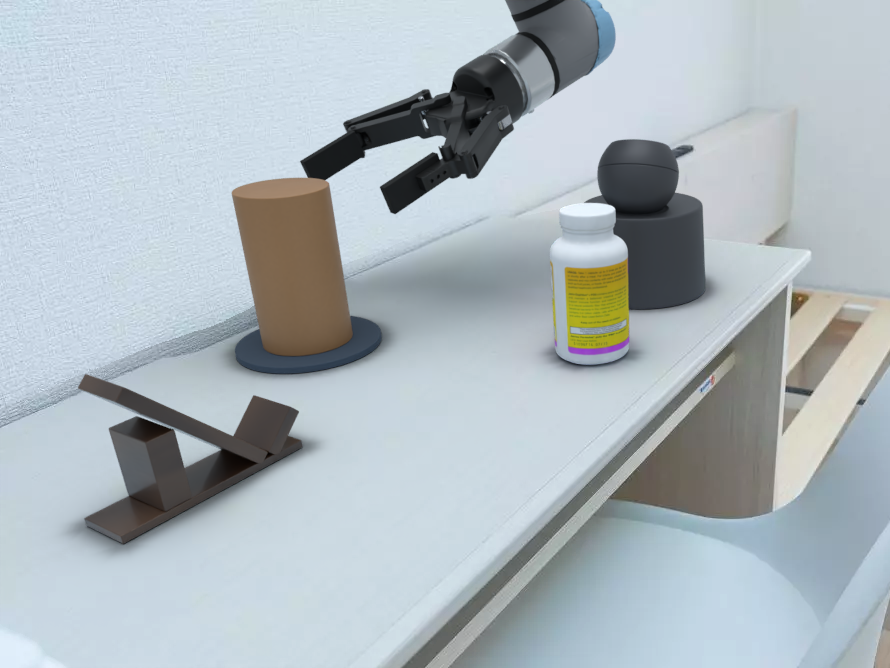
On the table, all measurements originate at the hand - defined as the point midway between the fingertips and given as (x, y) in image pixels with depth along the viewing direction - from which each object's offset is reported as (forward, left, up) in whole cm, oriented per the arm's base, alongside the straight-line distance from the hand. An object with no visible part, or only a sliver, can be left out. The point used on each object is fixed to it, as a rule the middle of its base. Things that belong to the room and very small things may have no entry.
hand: (345, 186), depth 85 cm
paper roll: (+2, -9, -5) cm, 11 cm away
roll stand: (+15, -30, -13) cm, 36 cm away
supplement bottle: (+26, +2, -13) cm, 29 cm away
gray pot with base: (+21, +20, -13) cm, 32 cm away
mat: (+2, -9, -13) cm, 16 cm away
